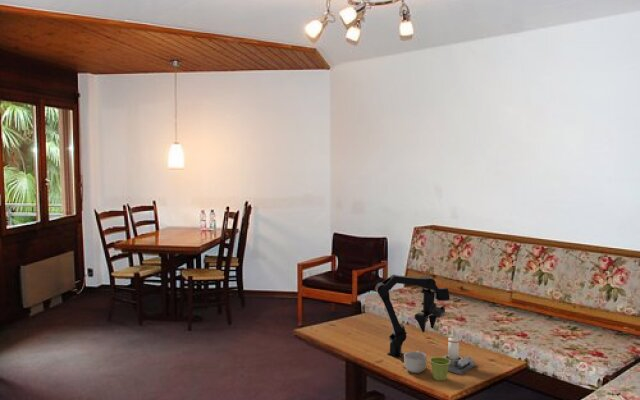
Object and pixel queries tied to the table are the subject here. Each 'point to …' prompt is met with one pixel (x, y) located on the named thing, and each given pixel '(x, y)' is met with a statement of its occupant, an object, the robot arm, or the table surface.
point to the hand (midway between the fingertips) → (427, 330)
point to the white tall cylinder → (453, 348)
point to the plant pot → (440, 368)
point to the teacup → (415, 361)
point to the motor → (460, 365)
